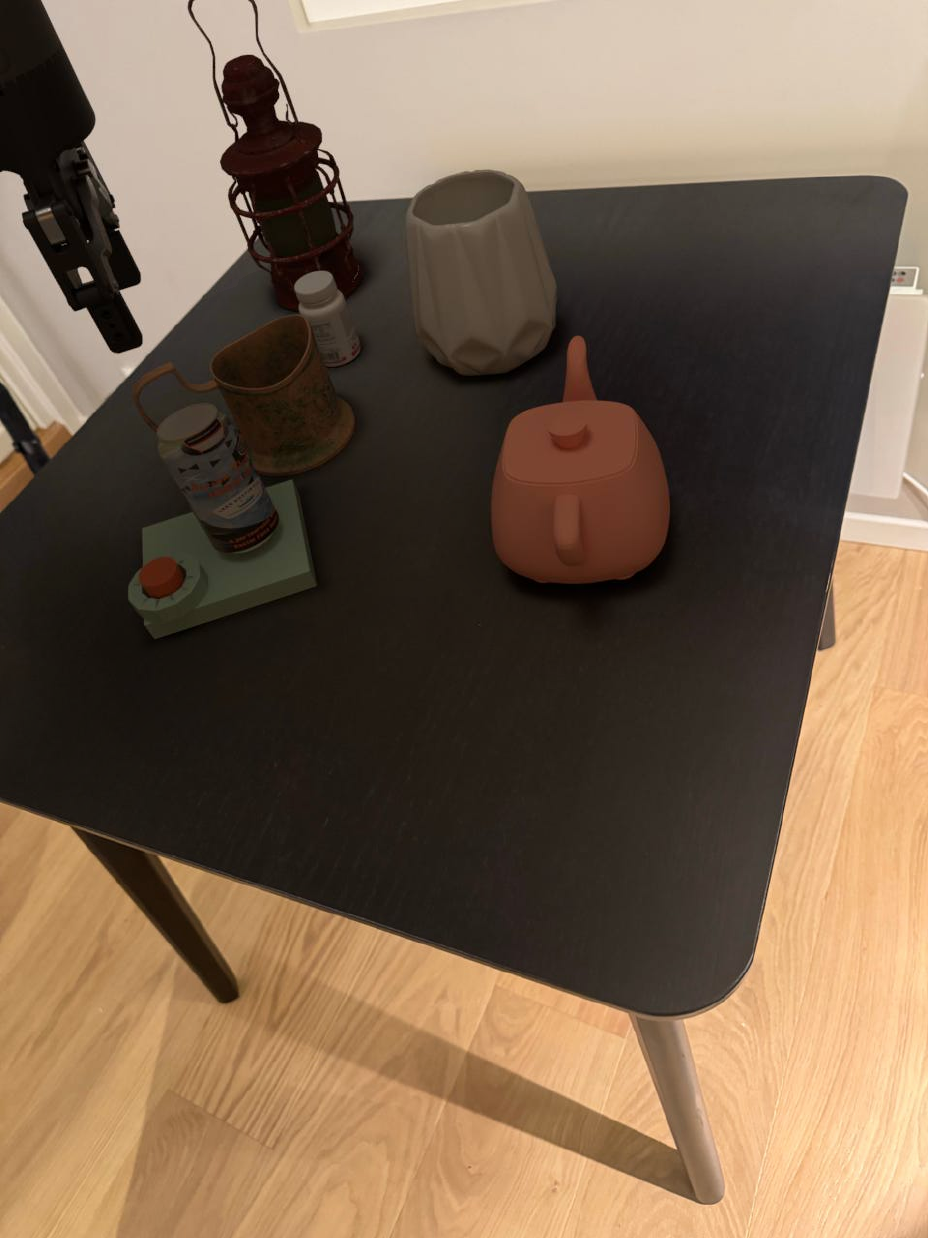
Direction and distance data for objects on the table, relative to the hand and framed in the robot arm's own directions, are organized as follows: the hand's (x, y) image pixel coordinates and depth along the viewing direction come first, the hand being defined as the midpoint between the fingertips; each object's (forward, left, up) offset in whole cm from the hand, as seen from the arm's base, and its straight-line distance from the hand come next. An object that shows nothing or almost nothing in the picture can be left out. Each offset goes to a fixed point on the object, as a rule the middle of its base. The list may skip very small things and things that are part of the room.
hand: (129, 315), depth 64 cm
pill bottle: (+12, +25, -23) cm, 36 cm away
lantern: (+12, +40, -23) cm, 48 cm away
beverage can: (0, 0, -21) cm, 21 cm away
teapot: (+27, -11, -23) cm, 37 cm away
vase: (+27, +18, -23) cm, 40 cm away
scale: (-2, -1, -23) cm, 23 cm away
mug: (+3, +13, -23) cm, 27 cm away
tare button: (-7, -5, -20) cm, 21 cm away
